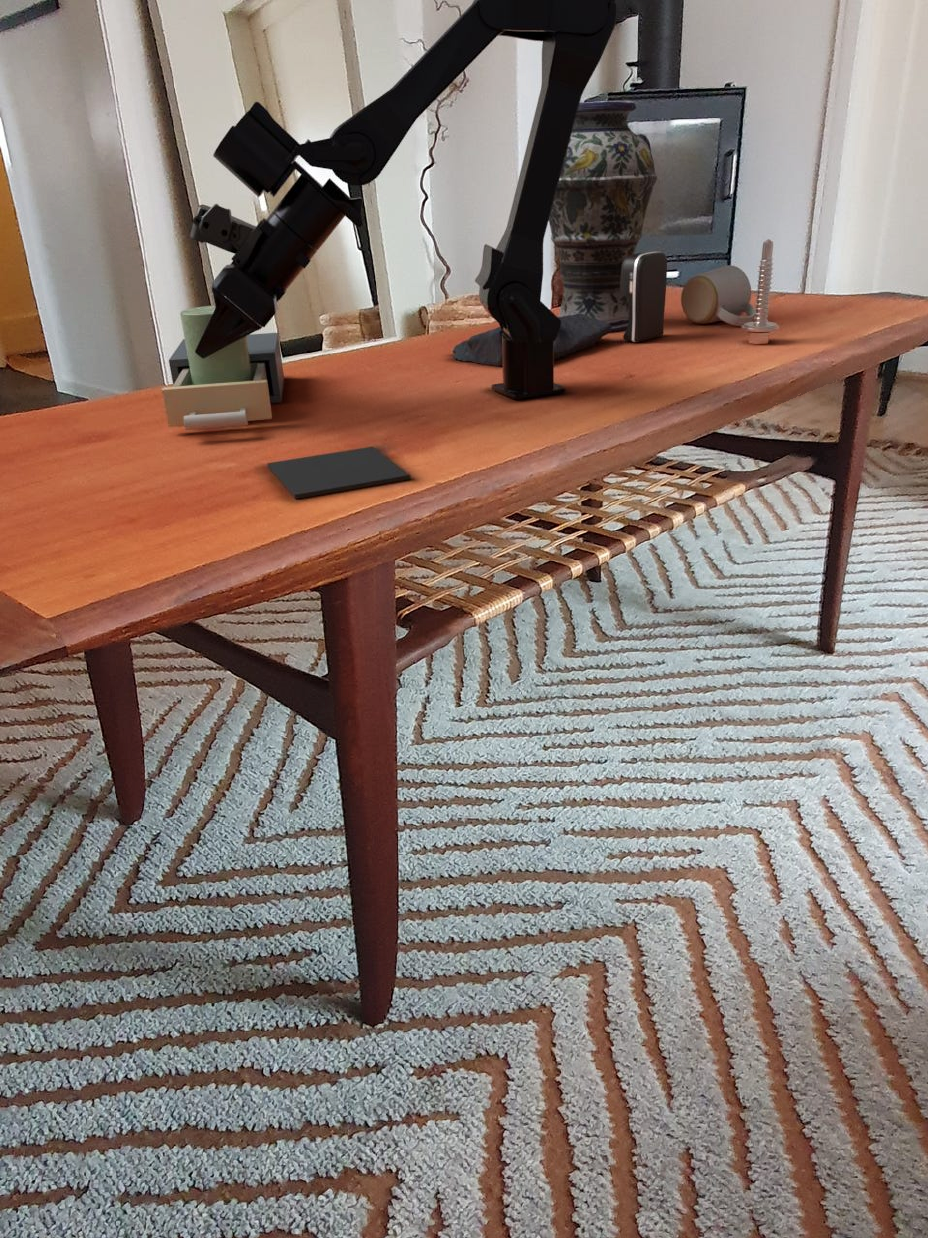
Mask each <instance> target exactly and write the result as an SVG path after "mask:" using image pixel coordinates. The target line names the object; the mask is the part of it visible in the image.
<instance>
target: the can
mask: <svg viewBox="0 0 928 1238" xmlns="http://www.w3.org/2000/svg"><path fill="white" fill-rule="evenodd" d="M214 310H215V305H204V306H203V305H202V306H197V307H191V308H186V309H183V310H181V311H179V312H180V313H179V314H180V320H181V325H182V331H183V337H184V338H183V339H185V343H186V349H187V355H188V361H189V367H190V373H191V378H192V384H193V385H202V384H216V383H229V382H243V381H253V379H252V372H251V365H250V358H249V351H248V344H247V337H246V336H245V337H243V338H242V339H240V340H238V341H236V342H234V343H232V344H230V345H228V346H226V347H224V348H223V349H221V350H219V351H217V352H215V353H213V354H211V355H210V356H208V357H206V358H201V357H200V356H199V355H197V354H196V353H195V350H196V348H197V346H198V344H199V342H200V340H201V337H202V335H203V333H204V331H205V329H206V327H207V325H208V323H209V321H210V319H211V316H212V314H213V312H214Z"/></svg>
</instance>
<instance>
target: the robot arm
mask: <svg viewBox="0 0 928 1238" xmlns="http://www.w3.org/2000/svg"><path fill="white" fill-rule="evenodd" d="M618 12H619V11H618V3H617V1H616V0H473V1H472V3H471V4H470V6H468V8H467V9H466V10H465V11H464V12H463V13H462V14H461V15H460V16H459V17H458V18H457V19H456V20H455V21H454V22H453V23H452V25H450V26H449V27H448V28H447V29H446V31H445V32H444V33H443V34H442V35H441V36H440V37H439V38H437V40H436V41H435V42H434V43H433V44H432V46H431V47H429V49H428V50H427V51H426V52H425V53H424V54H423V55H422V56H421V57H420V58H419V59H418V60H417V61H416V62H415V63H414V64H413V65H412V66H411V67H410V68H409V70H407V71H406V72H405V73H404V74H403V75H402V77H401V78H400V79H399V80H398V81H397V82H396V83H395V84H394V85H393V86H392V87H391V88H390V89H389V90H388V91H386V92H384V93H383V94H381V95H380V96H378V97H377V98H376V99H374V100H373V101H372V102H370V103H369V104H367V105H366V106H364V107H363V108H361V109H360V110H359V111H357V112H356V113H355V114H353V115H351V116H350V117H349V118H348V119H346V120H345V121H344V122H342V123H340V124H339V125H338V126H337V127H336V128H334V130H333V131H332V133H331V134H330V136H329V138H323V139H319V140H313V141H311V140H310V139H309V138H307V140H306V141H305V142H304V143H299V142H298V140H296V139H295V138H294V137H293V136H292V135H291V134H290V133H289V132H288V131H287V130H286V129H285V128H284V127H283V126H282V125H281V124H279V123H278V122H277V121H276V119H274V117H273V116H272V114H271V113H270V112H269V110H268V109H267V108H265V106H264V105H263V104H261V103H260V102H259V101H254V102H253V104H252V106H251V107H250V108H249V110H248V111H246V113H245V114H244V115H243V116H241V118H240V119H239V120H238V122H237V123H236V124H235V125H232V126H231V127H230V128H229V130H228V131H227V132H226V134H225V135H224V136H223V138H222V139H221V141H220V142H219V144H218V145H217V147H216V149H215V151H214V152H213V155H212V156H213V158H214V159H216V160H217V161H218V162H219V163H220V164H221V165H222V166H223V167H224V168H226V169H227V170H228V171H229V172H230V173H231V174H232V175H233V176H234V177H235V178H236V179H237V180H239V181H240V183H242V184H243V185H244V186H246V188H247V189H249V190H250V191H251V192H252V193H253V194H254V195H255V196H257V197H258V198H260V197H261V196H262V195H263V193H264V192H265V193H266V194H268V195H270V196H271V197H273V198H275V197H276V196H277V195H278V193H279V192H280V191H281V190H282V188H283V187H284V186H285V184H286V183H287V182H288V180H289V179H290V178H291V176H292V175H293V174H294V172H295V171H297V172H298V174H300V175H299V176H298V177H297V179H296V180H295V182H294V183H293V184H292V185H291V187H290V188H289V189H288V190H287V192H286V193H285V194H284V196H283V197H282V198H281V200H280V201H279V202H278V203H277V205H276V206H275V208H274V209H273V210H272V211H271V213H270V214H269V216H267V218H265V217H263V218H262V219H260V221H259V222H258V223H257V225H255V224H252V223H250V222H247V221H244V220H242V219H240V218H238V217H236V216H234V215H232V211H231V208H226V207H223V206H220V205H219V204H218V203H214V204H213V205H212V206H210V205H206V204H199V205H198V206H197V209H196V212H195V214H194V215H195V216H194V217H193V220H192V221H193V222H192V223H193V224H192V227H191V231H190V235H189V238H191V239H192V240H194V241H196V242H198V243H201V244H204V243H207V244H209V245H211V246H214V247H216V248H219V249H220V250H223V251H226V252H229V253H232V254H233V256H232V257H231V260H232V261H231V263H230V264H226V265H225V266H224V267H223V268H222V269H221V270H220V272H219V273H218V274H217V276H216V277H215V278H214V280H213V281H212V282H211V287H210V288H211V293H212V296H213V301H214V306H215V310H214V312H213V314H212V316H211V319H210V321H209V323H208V325H207V327H206V329H205V331H204V333H203V335H202V337H201V340H200V342H199V344H198V346H197V348H196V350H195V353H196V354H197V355H199V356H200V357H201V358H206V357H208V356H210V355H211V354H213V353H215V352H217V351H219V350H221V349H223V348H224V347H226V346H228V345H230V344H232V343H234V342H236V341H238V340H240V339H242V338H243V337H245V336H247V335H250V334H254V333H255V332H257V331H260V330H262V329H263V328H265V327H266V326H268V324H269V323H270V321H271V320H272V319H273V317H274V316H275V315H276V313H277V311H278V302H279V301H280V300H281V299H282V298H283V297H284V295H285V294H286V293H287V290H288V289H289V287H290V286H291V285H292V284H293V282H294V281H295V280H296V279H297V277H298V276H299V275H300V274H301V272H302V271H303V270H304V269H306V268H307V266H309V264H310V263H311V261H312V258H313V257H314V256H315V255H316V254H317V252H318V251H319V250H320V248H321V247H322V246H324V244H325V243H326V241H327V240H328V238H330V236H331V235H332V233H333V232H334V231H335V230H336V228H337V227H338V226H339V224H340V223H341V222H342V221H343V220H344V218H345V217H346V218H347V219H348V220H349V221H350V222H351V223H352V224H353V225H354V226H355V227H356V228H362V227H363V226H364V222H363V221H364V220H363V217H362V210H363V209H362V208H363V205H364V204H363V203H364V199H363V198H362V197H360V196H359V197H356V198H354V197H353V198H352V197H350V196H349V195H348V194H347V193H346V192H345V191H344V190H343V189H341V187H340V186H339V185H337V183H335V181H333V179H331V178H328V179H327V181H326V182H324V184H323V185H322V184H321V183H320V182H319V181H318V180H317V179H316V178H314V176H312V175H311V174H310V173H309V172H308V171H307V170H306V169H305V167H303V166H302V165H301V164H300V163H299V162H298V161H296V160H297V158H298V157H299V156H300V158H302V160H303V161H305V162H306V164H308V165H309V166H310V167H312V168H313V167H314V168H320V169H326V170H330V171H331V170H332V172H333V174H334V175H335V176H336V177H337V178H338V179H339V180H340V181H341V182H343V183H345V184H348V185H350V186H358V187H359V186H361V187H362V186H365V185H366V186H367V185H368V184H370V183H372V182H373V181H375V180H376V179H377V178H378V177H379V176H380V174H381V173H382V172H383V170H384V168H385V167H386V166H387V164H388V163H389V162H390V160H391V159H392V157H393V155H394V154H395V152H396V151H397V149H398V148H399V146H400V145H401V143H402V142H403V140H404V139H405V138H406V135H407V134H408V132H409V131H410V129H411V128H412V127H413V125H414V124H415V122H416V121H417V119H418V118H419V117H420V116H421V115H422V114H423V113H424V112H425V111H426V110H427V109H428V108H429V107H430V106H431V105H432V104H433V103H434V102H435V101H436V100H437V99H438V98H439V96H441V95H442V94H443V93H444V92H445V90H446V89H448V87H449V86H451V84H452V83H454V81H455V80H456V79H457V78H458V77H459V76H460V75H461V74H462V73H463V72H464V71H465V70H466V69H467V68H468V67H469V66H470V65H471V64H472V63H473V62H474V60H476V59H477V58H478V57H479V56H480V54H481V53H482V52H483V51H485V49H486V48H487V47H488V46H490V44H492V42H493V41H494V40H495V39H496V38H497V37H507V38H515V39H520V40H525V41H532V42H542V45H541V46H542V47H541V86H540V92H539V95H538V99H537V103H536V106H535V111H534V115H533V118H532V119H533V120H532V123H531V127H530V131H529V136H528V139H527V144H526V147H525V151H524V155H523V160H522V164H521V167H520V172H519V176H518V180H517V183H516V188H515V193H514V196H513V201H512V204H511V209H510V213H509V216H508V220H507V224H506V228H505V230H504V233H503V234H502V236H501V239H500V240H499V242H498V244H497V246H496V247H494V246H491V245H489V244H487V243H485V244H484V245H483V250H482V261H481V262H482V263H481V267H480V270H479V273H478V274H477V276H476V277H475V278H474V282H475V283H476V284H477V285H478V286H479V288H478V298H479V301H480V304H481V305H482V307H483V309H484V311H485V312H486V313H488V315H489V316H491V318H492V319H494V321H495V322H497V323H498V325H499V327H500V328H501V330H502V331H504V332H505V333H502V359H503V366H502V382H501V383H494V384H491V390H492V391H495V392H498V393H499V394H501V395H504V396H506V397H508V398H511V399H513V400H522V399H528V398H535V397H543V396H549V395H554V394H561V393H562V394H563V393H565V392H566V391H567V387H566V386H564V385H560V384H558V383H555V382H554V381H555V380H554V377H555V376H554V375H555V370H554V369H555V368H554V367H555V360H554V340H556V337H557V334H558V332H559V329H560V326H561V320H560V319H559V318H558V315H556V314H555V313H554V312H552V311H551V309H550V308H549V307H547V306H546V304H544V303H543V301H541V299H542V298H541V297H542V289H543V279H544V241H545V236H546V232H547V228H548V225H549V217H550V213H551V209H552V206H553V202H554V198H555V194H556V190H557V187H558V183H559V179H560V175H561V171H562V168H563V164H564V160H565V156H566V153H567V149H568V145H569V141H570V137H571V134H572V130H573V126H574V122H575V119H576V115H577V111H578V107H579V103H581V100H582V96H583V93H584V92H585V89H586V87H587V85H588V84H589V81H590V80H591V78H592V76H593V75H594V73H595V70H596V69H597V67H598V65H599V63H600V61H601V60H602V57H603V55H604V52H605V50H606V48H607V45H608V44H609V41H610V38H611V36H612V34H613V32H614V29H615V27H616V24H617V17H618Z"/></svg>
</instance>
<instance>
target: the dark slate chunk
mask: <svg viewBox="0 0 928 1238" xmlns="http://www.w3.org/2000/svg"><path fill="white" fill-rule="evenodd" d="M557 317H558V316H557ZM558 318H559V319H560V320H561V326H560V329H559V332H558V334H557V337H556V340H554V361H555V360H557V359H561V358H564V357H565V356H567V355H570V354H573V353H575V352H579V351H582V350H584V349H588V348H589V347H594V346H595V345H596V343H598V341H599V340H601V339H602V338H603V337H605V336H607V335H608V334H609V333H611V332H610V331H611V328H612V327H611V325H610V324H609V323H608V322H605V321H600V320H598V319H594V318H590V316H585V315H583V314H581V313H578V314H575V315H568V316H562V317H558ZM502 333H505V332H504V331H502V330H501V328H500V326H498V327H496V328H492V329H490V330H487V331H483V332H481V333H477V334H475V335H472V336H470V337H469V338H468V339H466V340H463V341H461V342H459V344H456V345H454V347H453V349H452V351H451V352H452V353H453V354H452V359H453V360H456V361H461V362H471V363H476V364H482V365H486V366H495V367H503V359H502Z"/></svg>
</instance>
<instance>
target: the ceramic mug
mask: <svg viewBox="0 0 928 1238" xmlns="http://www.w3.org/2000/svg"><path fill="white" fill-rule="evenodd" d="M751 299H752V287H751V283H750V279H749V277H748V276H747V274H746V273H745V272H744V270H742V269H741V268H739V267H738V266H737V265H736V266H735V265H724V266H721V267H717V268H714V269H710V270H707V271H703V272H700V273H698V274H696V275H694V276H692V277H691V278H689V280H687V281H686V283H685V284H684V285H683V288H682V290H681V296H680V305H681V308H682V311H683V313H684V315H685V316H686V318H687V319H689V320H690V321H691V322H693V323H696V324H701V325H702V324H705V325H706V324H711V323H716V322H721V321H723V322H724V323H726V324H728V325H732V326H735V327H742V326H743V325H744V324H745V323H748V322H754V320H755V319H754V318H755V314H754V313H756V310H755V307H754V305H752V303H751ZM744 313H745V314H746V315H747V316H743V314H744Z"/></svg>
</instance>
